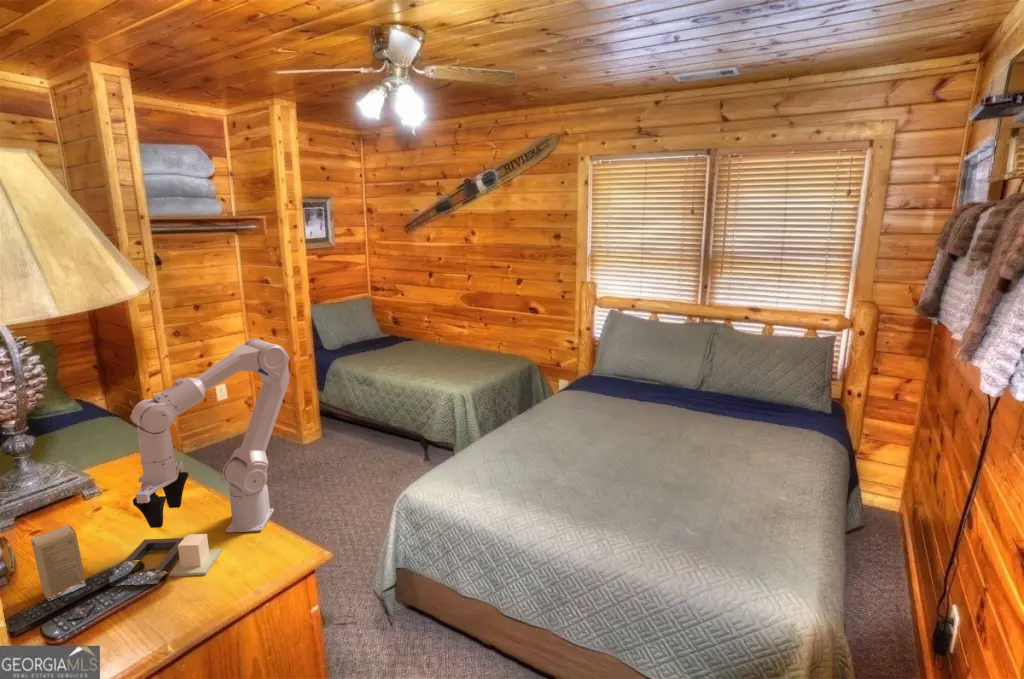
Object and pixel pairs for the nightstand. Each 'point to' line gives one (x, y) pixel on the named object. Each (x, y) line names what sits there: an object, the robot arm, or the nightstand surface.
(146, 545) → the dark brown rectangular frame
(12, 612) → the nightstand surface
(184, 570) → the tile
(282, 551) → the nightstand surface
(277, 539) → the nightstand surface
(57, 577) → the skincare box
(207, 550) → the peg
